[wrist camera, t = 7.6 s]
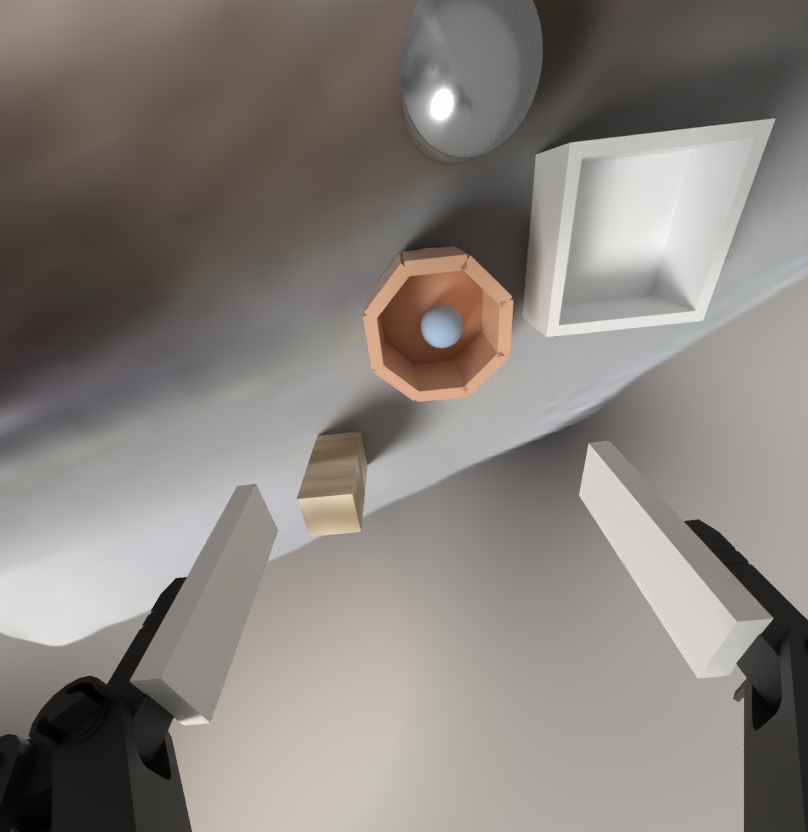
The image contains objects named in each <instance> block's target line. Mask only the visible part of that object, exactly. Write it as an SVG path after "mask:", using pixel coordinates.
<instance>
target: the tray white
mask: <svg viewBox="0 0 808 832" xmlns="http://www.w3.org/2000/svg"><path fill="white" fill-rule="evenodd" d="M775 119H776V118H773V119H765V120H756V121H748V122H740V123H731V124H723V125H714V126H706V127H697V128H689V129H680V130H672V131H664V132H655V133H647V134H638V135H630V136H621V137H613V138H604V139H596V140H588V141H579V142H571V143H568V144H565V145H562V146H559V147H556V148H553V149H550V150H548V151H545V152H542V153H539V154H536V160H535V172H534V184H533V196H532V208H531V221H530V233H529V245H528V257H527V269H526V282H525V294H524V306H523V318H525V319H526V320H527V321H528V322H529V323H530V324H532V325H533V326H534V327H535V328H536V329H537V330H539V331H540V332H541V333H542V334H543V335H545V336H546V337H552V336H561V335H571V334H580V333H590V332H599V331H609V330H618V329H628V328H638V327H647V326H657V325H666V324H676V323H685V322H695V321H703V319H704V316H705V314H706V311H707V308H708V305H709V302H710V300H711V297H712V294H713V291H714V288H715V286H716V283H717V280H718V277H719V275H720V272H721V269H722V266H723V263H724V261H725V258H726V255H727V252H728V250H729V247H730V244H731V241H732V238H733V236H734V233H735V230H736V227H737V225H738V222H739V219H740V216H741V213H742V211H743V208H744V205H745V202H746V199H747V197H748V194H749V191H750V188H751V186H752V183H753V180H754V177H755V174H756V172H757V169H758V166H759V163H760V161H761V158H762V155H763V152H764V149H765V147H766V144H767V141H768V138H769V135H770V133H771V130H772V127H773V124H774V122H775Z"/></svg>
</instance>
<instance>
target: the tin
mask: <svg viewBox="0 0 808 832" xmlns="http://www.w3.org/2000/svg"><path fill="white" fill-rule="evenodd" d="M542 61H543V40H542V31H541V25H540V20H539V16H538V13H537V9H536V7H535V4H534V2H533V0H419V1H418V2H417V4H416V6H415V8H414V10H413V12H412V15H411V17H410V20H409V23H408V25H407V29H406V33H405V36H404V41H403V47H402V54H401V69H400V72H401V88H402V96H401V100H402V113H403V118H404V122H405V126H406V129H407V131H408V133H409V136H410V138H411V139H412V141H413V143H414V144H415V146H416V147H417V148H418V149H419V150H420V151H421V152H422V153H423V154H424V155H425V156H427V157H428V158H430V159H431V160H433V161H435V162H438V163H442V164H458V163H462V162H465V161H468V160H469V159H471V158H473V157H478V156H480V155H483V154H486V153H487V152H489V151H491V150H493V149H495V148H496V147H498V146H499V145H501V144H502V143H503V142H504V141H506V140H507V139H508V138H509V137H510V136H511V135H512V134H513V133H514V131H515V130H516V129H517V128H518V127H519V125H520V124H521V122H522V121H523V119H524V118H525V116H526V114H527V112H528V110H529V109H530V106H531V104H532V102H533V99H534V97H535V94H536V91H537V87H538V84H539V79H540V75H541V68H542Z"/></svg>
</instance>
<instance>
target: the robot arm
mask: <svg viewBox="0 0 808 832" xmlns="http://www.w3.org/2000/svg"><path fill="white" fill-rule="evenodd" d="M579 496H580V497H581V499H582V500H583V502H584V503H585V505H586V506H587V508H588V510H589V511H590V513H591V514H592V516H593V517H594V519H595V520H596V522H597V523H598V525H599V527H600V528H601V530H602V531H603V533H604V534H605V536H606V537H607V539H608V541H609V542H610V544H611V545H612V547H613V548H614V550H615V551H616V553H617V554H618V556H619V557H620V559H621V561H622V562H623V564H624V565H625V567H626V568H627V570H628V571H629V573H630V574H631V576H632V578H633V579H634V581H635V582H636V584H637V585H638V587H639V588H640V590H641V592H642V593H643V594H644V596H645V598H646V599H647V601H648V602H649V604H650V605H651V607H652V608H653V610H654V612H655V613H656V615H657V616H658V618H659V619H660V621H661V622H662V624H663V625H664V627H665V629H666V630H667V632H668V633H669V635H670V636H671V638H672V639H673V641H674V643H675V644H676V646H677V647H678V649H679V650H680V652H681V653H682V655H683V656H684V658H685V660H686V661H687V663H688V664H689V666H690V667H691V669H692V670H693V672H694V673H695V675H696V676H697V678H707V677H718V676H728V675H729V674H730V672H731V671H732V670H733V669H734V667H735V666H736V665H738V667H739V668H740V669H741V670H742V672H743V673H744V675H745V676H746V677H747V679H746V680H745V681H744V682H743V683H742V684H741V686H740V687H739V688H738V689H737V690H736V691H735V694H734V698H733V699H734V700H736V701H738V702H739V701H740V700H741V699H742V698H743V697H744V832H808V620H807V619H806V618H805V617H804V616H803V615H802V614H801V613H800V612H799V611H798V610H797V609H796V608H795V607H794V606H793V605H792V604H791V603H790V602H789V601H788V600H787V599H786V598H785V597H784V596H783V595H782V594H781V593H780V592H779V591H778V590H776V588H775V587H773V585H772V584H770V582H769V581H768V580H766V578H764V576H763V575H762V574H761V573H759V571H757V569H756V568H754V566H752V565H750V564H749V563H748V561H747V559H746V558H745V557H744V556H743V555H741V554H740V553H739V552H738V551H736V550H735V548H734V547H733V546H732V545H731V544H730V543H729V542H728V541H727V540H726V539H725V538H724V537H723V536H722V535H721V534H720V533H719V532H718V531H716V530H715V529H713V528H712V527H710V526H708V525H707V524H705V523H704V522H702V521H700V520H690V521H683V520H682V519H681V518H680V517H679V516H678V515H677V514H676V512H675V511H674V510H673V509H672V508H671V507H670V506H669V505H668V504H667V503H666V502H665V501H664V499H662V497H661V496H660V495H659V494H658V493H657V492H656V491H655V490H654V489H653V488H652V487H651V486H650V484H649V483H648V482H647V481H646V480H645V479H644V478H643V477H642V476H641V475H640V474H639V473H638V471H636V469H635V468H634V467H633V466H632V465H631V464H630V463H629V462H628V461H627V459H626V458H625V457H624V456H623V455H622V454H621V453H620V452H619V451H618V450H617V449H616V448H615V447H614V445H613V444H612V443H611V442H610V441H603V442H595V443H589V445H588V451H587V456H586V462H585V467H584V473H583V478H582V483H581V489H580V495H579ZM277 532H278V529H277V527H276V525H275V523H274V521H273V519H272V516H271V514H270V512H269V510H268V508H267V506H266V504H265V502H264V500H263V498H262V496H261V493H260V491H259V489H258V487H257V485H256V484H251V485H242V486H237V488H236V489H235V491H234V493H233V495H232V497H231V498H230V500H229V502H228V504H227V506H226V508H225V509H224V511H223V513H222V515H221V517H220V518H219V520H218V522H217V524H216V526H215V527H214V529H213V531H212V533H211V535H210V536H209V538H208V540H207V542H206V544H205V545H204V547H203V549H202V551H201V553H200V555H199V556H198V558H197V560H196V562H195V564H194V565H193V567H192V569H191V571H190V573H189V574H188V576H187V577H183V578H176V579H175V580H174V581H173V582H172V583H171V584H170V585H169V586H168V587H167V588H166V589H165V590H164V591H163V592H162V593H161V595H160V596H159V598H158V600H157V601H156V603H155V605H154V606H153V608H152V610H151V614H150V615H148V616H147V618H146V620H145V622H144V623H143V625H142V629H140V630H139V632H138V633H137V635H136V637H135V638H134V640H133V642H132V643H131V645H130V647H129V648H128V650H127V652H126V653H125V655H124V657H123V658H122V660H121V662H120V663H119V665H118V667H117V668H116V670H115V672H114V673H113V675H112V677H111V679H110V680H109V682H108V684H107V685H106V684H105V683H104V682H102V681H101V680H100V679H98V678H96V677H93V676H87V677H82V678H79V679H77V680H75V681H73V682H72V683H70V684H68V685H66V686H65V687H64V688H62V689H61V690H60V691H59V692H57V693H56V694H55V695H54V696H53V697H52V698H51V699H50V700H49V701H48V702H47V703H46V704H45V706H44V707H43V708H42V709H41V710H40V712H39V714H38V715H37V717H36V718H35V720H34V722H33V723H32V726H31V730H30V733H29V737H31V738H30V739H28V740H25V739H23V738H21V737H19V736H17V735H10V734H7V735H4V736H1V737H0V832H192V830H191V825H190V820H189V816H188V811H187V807H186V802H185V797H184V792H183V788H182V784H181V779H180V774H179V769H178V765H177V760H176V755H175V751H174V746H173V741H172V737H171V736H170V734H169V732H168V729H169V727H170V724H171V722H172V720H173V717H174V718H175V719H176V720H178V721H179V722H180V723H181V724H182V725H193V724H204V723H210V722H211V719H212V716H213V713H214V710H215V708H216V705H217V702H218V699H219V696H220V694H221V691H222V688H223V685H224V682H225V679H226V677H227V674H228V671H229V668H230V665H231V662H232V659H233V657H234V654H235V651H236V648H237V645H238V643H239V640H240V637H241V634H242V631H243V628H244V626H245V623H246V620H247V617H248V614H249V611H250V608H251V606H252V603H253V600H254V597H255V594H256V591H257V588H258V586H259V583H260V580H261V577H262V574H263V571H264V569H265V566H266V563H267V560H268V557H269V555H270V552H271V549H272V546H273V543H274V540H275V537H276V535H277Z"/></svg>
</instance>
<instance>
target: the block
mask: <svg viewBox="0 0 808 832" xmlns="http://www.w3.org/2000/svg"><path fill="white" fill-rule="evenodd" d="M366 475H367V461H366V456H365V451H364V445H363V440H362V435H361V432H351V433H340V434H330V435H320V436H317V439H316V442H315V445H314V448H313V451H312V454H311V457H310V460H309V463H308V466H307V469H306V472H305V476H304V479H303V482H302V485H301V488H300V491H299V494H298V497H297V501H298V504H299V507H300V509H301V512H302V515H303V518H304V521H305V523H306V526H307V529H308V532H309V534H310V536H319V535H329V534H341V533H352V532H361V528H362V517H363V507H364V496H365V486H366Z"/></svg>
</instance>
